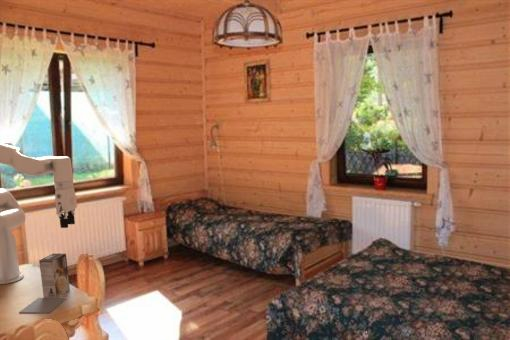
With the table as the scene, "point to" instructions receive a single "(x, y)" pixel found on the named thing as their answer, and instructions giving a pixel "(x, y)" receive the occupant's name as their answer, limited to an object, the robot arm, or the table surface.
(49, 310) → the mat
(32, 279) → the table surface
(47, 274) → the coffee box
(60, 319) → the table surface
